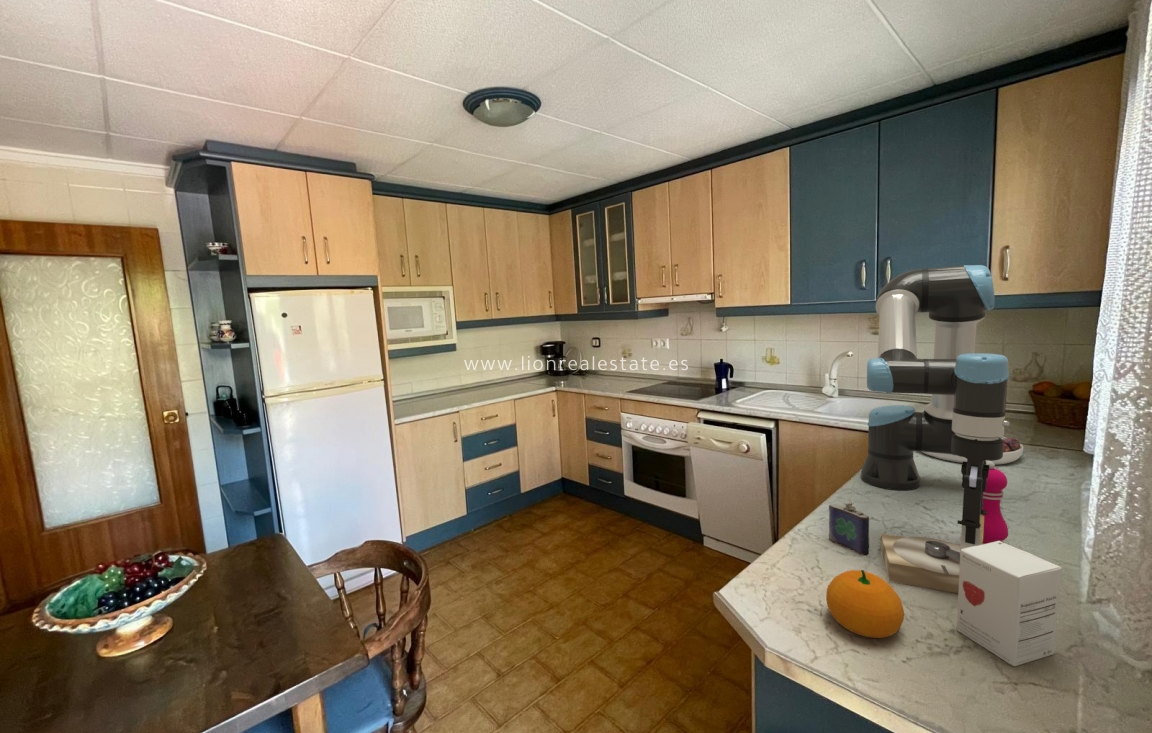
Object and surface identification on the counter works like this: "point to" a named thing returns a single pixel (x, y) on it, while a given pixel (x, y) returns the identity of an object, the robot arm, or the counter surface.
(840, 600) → the fruit
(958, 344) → the robot arm
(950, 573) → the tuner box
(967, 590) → the supplement box
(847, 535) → the flask
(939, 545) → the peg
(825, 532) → the counter surface
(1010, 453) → the bowl
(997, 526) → the pepper mill
